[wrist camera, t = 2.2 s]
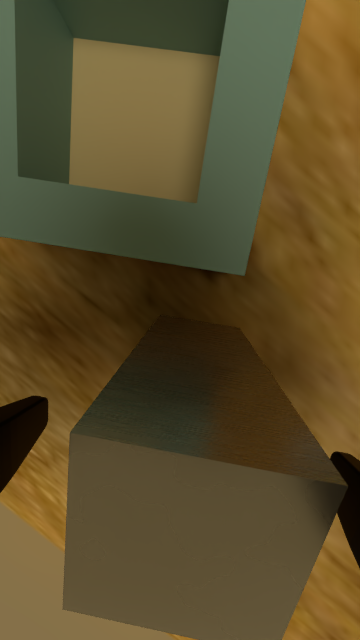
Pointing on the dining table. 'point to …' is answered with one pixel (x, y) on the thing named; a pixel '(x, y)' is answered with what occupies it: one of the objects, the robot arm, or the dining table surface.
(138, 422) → the grey rectangular block
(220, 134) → the socket block
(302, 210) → the dining table surface
